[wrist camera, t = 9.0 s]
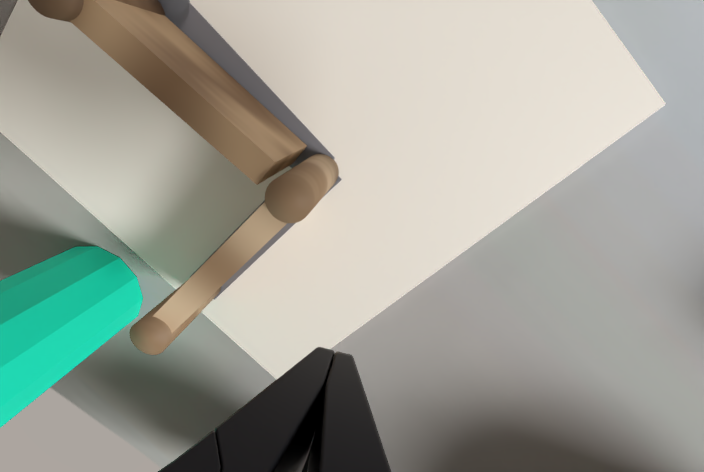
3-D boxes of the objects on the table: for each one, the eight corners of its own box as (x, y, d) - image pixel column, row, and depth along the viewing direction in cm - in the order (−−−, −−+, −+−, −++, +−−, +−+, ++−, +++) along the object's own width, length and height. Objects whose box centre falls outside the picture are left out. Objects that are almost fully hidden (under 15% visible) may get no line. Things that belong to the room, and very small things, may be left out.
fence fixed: (210, 301, 23) (152, 361, 18) (188, 281, 22) (122, 336, 17) (346, 172, 19) (321, 202, 14) (320, 145, 18) (286, 165, 13)
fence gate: (310, 141, 18) (275, 158, 13) (288, 168, 19) (247, 193, 14) (140, -16, 17) (32, -60, 12) (122, 19, 17) (14, -9, 12)
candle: (118, 341, 26) (-102, 527, 15) (45, 286, 25) (-247, 440, 14) (158, 288, 24) (-65, 460, 13) (79, 226, 23) (-234, 351, 12)
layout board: (284, 378, 25) (281, 385, 24) (-22, 103, 21) (-34, 103, 20) (658, 103, 16) (667, 104, 15) (253, -460, 12) (245, -486, 12)
